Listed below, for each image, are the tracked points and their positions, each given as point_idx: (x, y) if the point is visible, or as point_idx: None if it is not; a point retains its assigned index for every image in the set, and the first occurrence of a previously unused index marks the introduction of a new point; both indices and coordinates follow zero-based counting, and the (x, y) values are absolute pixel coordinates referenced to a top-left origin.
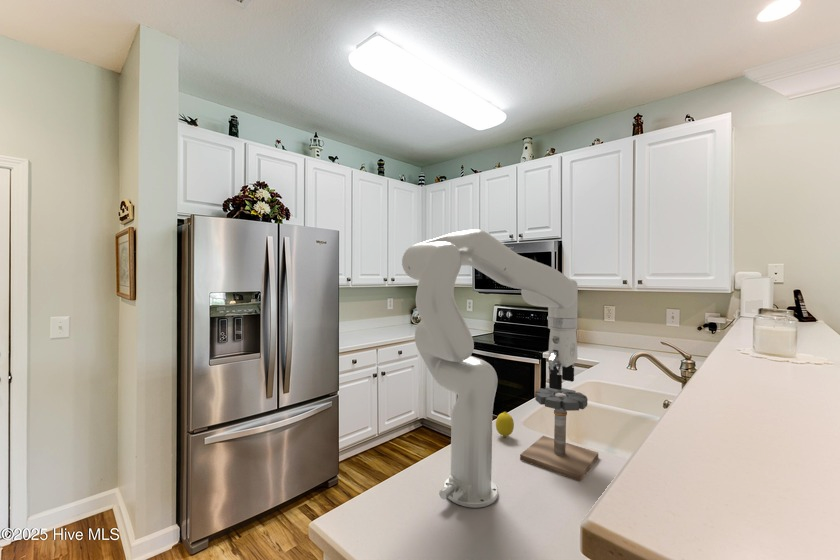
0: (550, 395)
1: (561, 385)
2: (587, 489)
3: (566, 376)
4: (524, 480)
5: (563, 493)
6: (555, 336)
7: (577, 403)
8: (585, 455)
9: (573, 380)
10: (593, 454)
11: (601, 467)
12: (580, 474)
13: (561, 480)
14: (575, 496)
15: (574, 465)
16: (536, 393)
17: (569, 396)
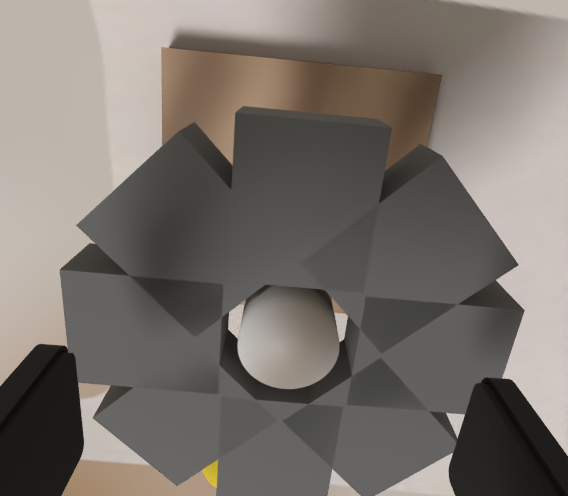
0: (367, 406)
1: (518, 409)
2: (480, 35)
3: (56, 449)
4: (526, 249)
5: (553, 110)
6: None
7: (451, 169)
8: (235, 95)
9: (53, 348)
10: (200, 64)
11: (254, 17)
12: (431, 76)
13: (461, 140)
14: (555, 65)
15: (364, 117)
16: (379, 491)
17: (290, 276)
